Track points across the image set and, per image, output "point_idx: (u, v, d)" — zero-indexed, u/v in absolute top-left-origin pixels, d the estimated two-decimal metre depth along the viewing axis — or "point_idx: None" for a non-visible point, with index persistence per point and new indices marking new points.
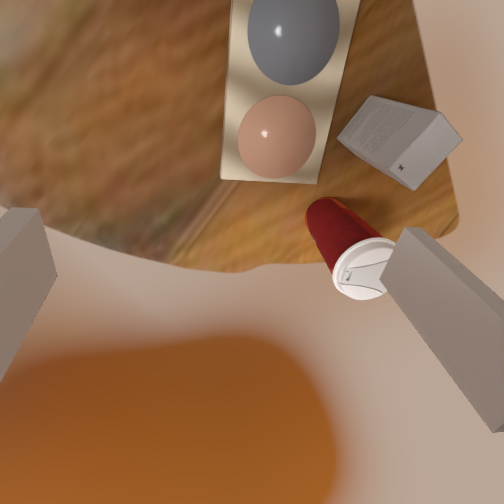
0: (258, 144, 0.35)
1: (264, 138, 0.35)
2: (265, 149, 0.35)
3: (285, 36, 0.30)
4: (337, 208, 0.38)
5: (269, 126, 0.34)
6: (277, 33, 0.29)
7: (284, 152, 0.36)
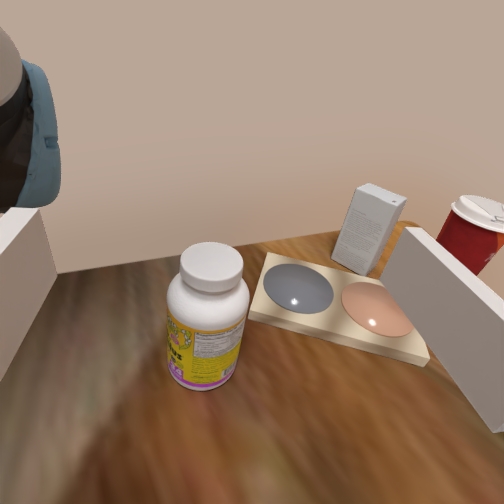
0: (385, 319, 0.37)
1: (378, 314, 0.37)
2: (388, 315, 0.37)
3: (301, 290, 0.39)
4: None
5: (367, 309, 0.38)
6: (299, 294, 0.38)
7: (387, 303, 0.39)
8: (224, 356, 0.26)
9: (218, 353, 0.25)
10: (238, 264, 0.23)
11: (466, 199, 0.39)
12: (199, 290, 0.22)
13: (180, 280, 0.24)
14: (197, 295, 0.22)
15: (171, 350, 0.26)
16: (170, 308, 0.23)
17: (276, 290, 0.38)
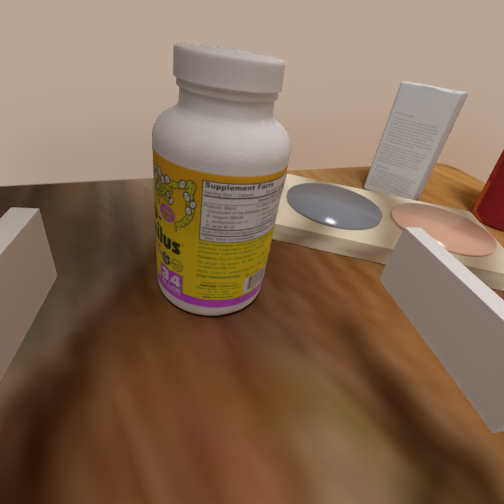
0: (457, 238, 0.27)
1: (446, 233, 0.27)
2: (458, 234, 0.28)
3: (339, 207, 0.29)
4: (494, 183, 0.33)
5: (430, 227, 0.28)
6: (338, 210, 0.28)
7: (452, 223, 0.29)
8: (250, 245, 0.15)
9: (242, 234, 0.15)
10: (278, 59, 0.13)
11: None
12: (210, 89, 0.12)
13: (174, 106, 0.14)
14: (207, 107, 0.12)
15: (162, 242, 0.16)
16: (158, 145, 0.13)
17: (306, 205, 0.28)
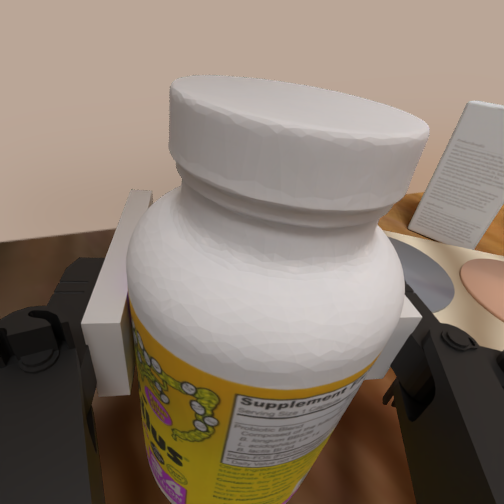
0: None
1: None
2: None
3: None
4: None
5: None
6: None
7: None
8: (316, 450, 0.08)
9: (306, 448, 0.07)
10: (407, 116, 0.06)
11: None
12: (263, 206, 0.05)
13: (172, 202, 0.07)
14: (250, 238, 0.05)
15: (150, 430, 0.09)
16: (136, 300, 0.06)
17: None
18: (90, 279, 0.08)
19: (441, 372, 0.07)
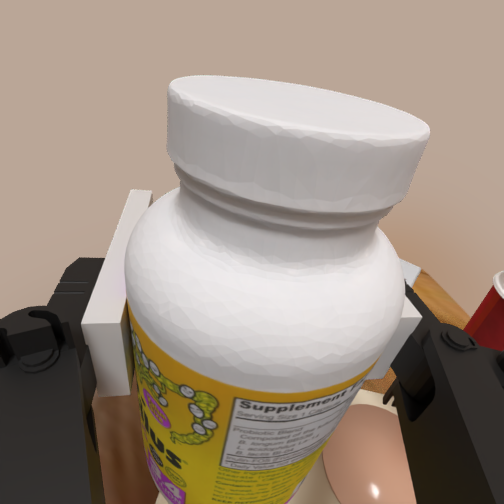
0: (399, 501, 0.21)
1: (387, 488, 0.21)
2: (403, 487, 0.22)
3: None
4: None
5: (367, 477, 0.22)
6: None
7: (398, 452, 0.23)
8: (316, 453, 0.08)
9: (305, 451, 0.07)
10: (407, 117, 0.06)
11: None
12: (262, 208, 0.05)
13: (171, 203, 0.07)
14: (248, 240, 0.05)
15: (149, 433, 0.09)
16: (134, 302, 0.06)
17: None
18: (90, 279, 0.08)
19: (442, 372, 0.07)
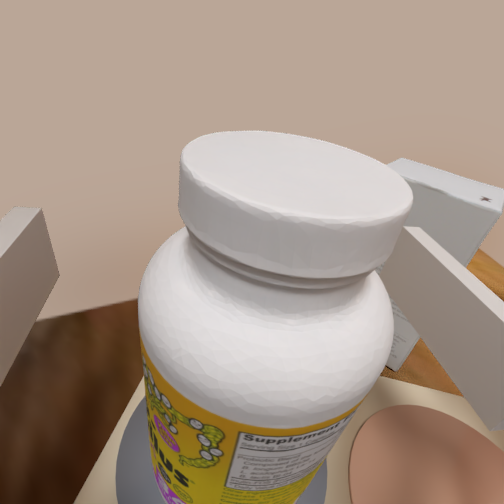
0: None
1: None
2: None
3: None
4: None
5: None
6: None
7: (480, 489, 0.14)
8: (313, 473, 0.09)
9: (303, 473, 0.08)
10: (394, 179, 0.06)
11: None
12: (264, 273, 0.05)
13: (180, 248, 0.07)
14: (252, 295, 0.06)
15: (158, 453, 0.09)
16: (148, 343, 0.07)
17: (150, 479, 0.12)
18: None
19: None
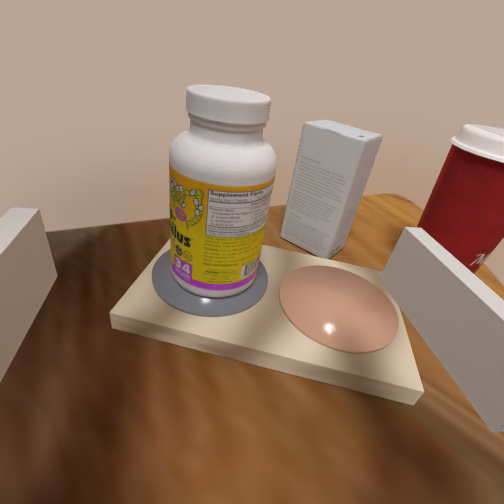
0: (348, 323, 0.22)
1: (338, 315, 0.22)
2: (353, 316, 0.23)
3: None
4: None
5: (320, 307, 0.23)
6: None
7: (354, 296, 0.24)
8: (246, 239, 0.20)
9: (239, 231, 0.19)
10: (265, 98, 0.17)
11: (474, 127, 0.24)
12: (214, 123, 0.16)
13: (186, 132, 0.18)
14: (211, 135, 0.17)
15: (176, 237, 0.20)
16: (174, 163, 0.17)
17: (170, 279, 0.23)
18: None
19: None
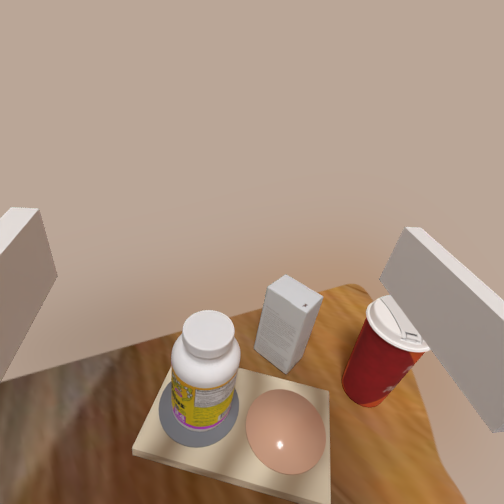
0: (290, 448, 0.33)
1: (284, 440, 0.33)
2: (294, 440, 0.33)
3: None
4: (350, 366, 0.39)
5: (272, 434, 0.34)
6: None
7: (298, 420, 0.35)
8: (220, 404, 0.30)
9: (215, 403, 0.30)
10: (230, 332, 0.28)
11: (381, 304, 0.35)
12: (198, 356, 0.27)
13: (182, 344, 0.29)
14: (197, 359, 0.27)
15: (175, 399, 0.31)
16: (174, 369, 0.28)
17: (171, 414, 0.34)
18: None
19: None
